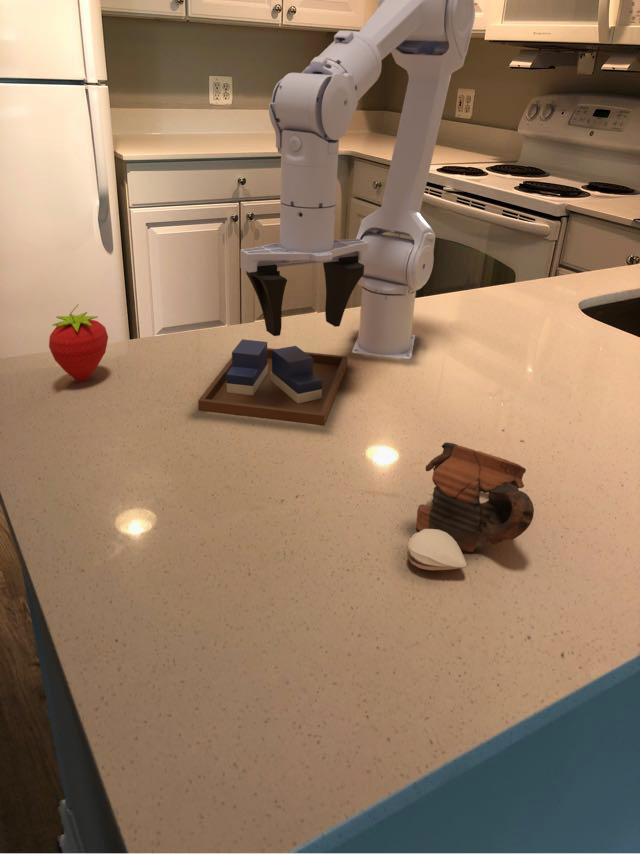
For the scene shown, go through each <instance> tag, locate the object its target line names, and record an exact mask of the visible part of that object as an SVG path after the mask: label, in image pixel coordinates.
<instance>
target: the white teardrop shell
mask: <svg viewBox="0 0 640 854" xmlns="http://www.w3.org/2000/svg"><path fill="white" fill-rule="evenodd" d="M407 548H408V549H407V550H406V555H407V559H408V560H409V561H410V563H411V565H414V566H416V567H417V568H418V569H421V570H426V571H447V570H457V569H463V568H466V567H467V562H466V559H465V556H464V554H463V550H461V549H460V548H459V546H458V544H457V542H456V541H455V540H454V539H453V538H452V537H451V536H450V535H449V534H448V533H446V532H444V531H441V530H437V529H424V530H422V531H418V532H415V533H413V535H412V536H411V537H410V538H409V540H408V543H407Z"/></svg>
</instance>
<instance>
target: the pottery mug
mask: <svg viewBox="0 0 640 854" xmlns="http://www.w3.org/2000/svg"><path fill="white" fill-rule="evenodd" d="M441 448H442V449H443V450H442V452H441V454H439V455H437V456H435V457H434V458H432V459H431V460H430V461H429V462H428V463H427V464H426V465H425V471H426V472H431V470H433V472H432V478H431V479H432V482H433V484H434V485H435V487H433V492H432V500H431V504H432V505H431V506H428V505H426V504H424V503H421V504H419V505H418V508H417V510H416V525H415V529H416V530H417V531H418V532H420V531H422V530H424V529H437V530H441V531H444V532H446V533H448V534H449V535H450V536H451V537H452V538H453V539H454V540H455V541H456V542H457V544H458V546H459V548H460V549H461V551H464V552H469V553H473V552H474V550H475V548H476V546H477V543H478V542H479V540H480V538H481V536H482V535H483V537H484V539H485V541H486V542H488V543H489V544H491V545H497V544H500V543H502V542H504V541H512V540H515V539H517V538H518V537H519V536H521V535H522V534H523V533H524V532H526V530H527V529H528V528H529V527H530V525H532V524H531V523H532V521H533V520H534V519H533V518H534V514H535V507H534V503H533V501H532V499H531V498H530V496H529V495H528V494H527V493H526V492H524V491H522V490H520V489H523V488H524V487H525V484H524V482H523V478H524V474H525V473H526V472H527V469H526V468H525V467H524V466H522V465H521V464H519V463H516V462H513V461H511V460H508V459H505V458H502V457H500V456H496V455H492V454H489V453H486V452H483V451H479V450H475V449H472V448H470V447H466V446H462V445H459V444H457V443H453V442H444V443H443V444H442V445H441ZM481 492H482V493H485V494H486V493H488V496H487V497H488V500H487V501H485V502H481V500H480V496H481V495H480V493H481Z"/></svg>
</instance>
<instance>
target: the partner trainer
mask: <svg viewBox="0 0 640 854" xmlns="http://www.w3.org/2000/svg"><path fill="white" fill-rule="evenodd" d="M267 348H268V341H262V340H252V339H243V338H242V339H241V340H240V341H239V342H238V344H237V345H236V346H235V348H234V349H233V350H232V351H231V358H232V368H231V369H230V370H229V372H228V373H227V393H235V394H244V395H252V396H253V395H254V393H255V392H256V390H257V389H258V387H259V385H260V384H261V382H262V381H263V379H264V377H265V376H266V374H267V373H268V364H267Z"/></svg>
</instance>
